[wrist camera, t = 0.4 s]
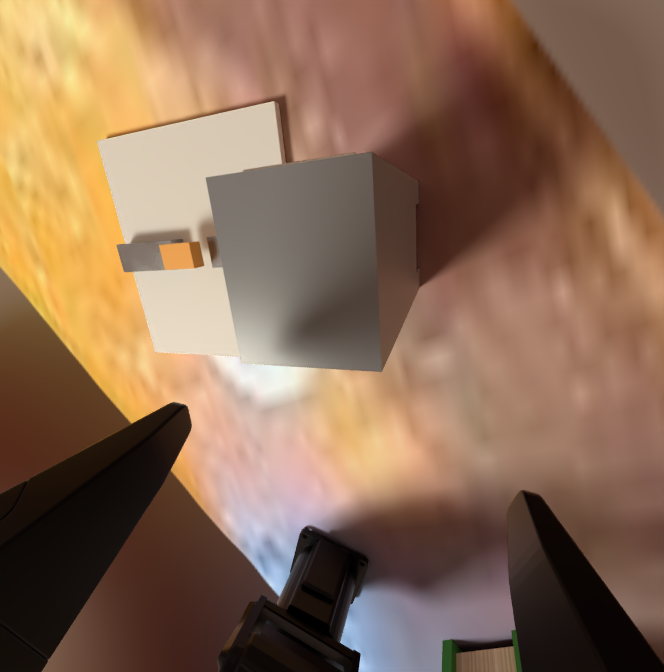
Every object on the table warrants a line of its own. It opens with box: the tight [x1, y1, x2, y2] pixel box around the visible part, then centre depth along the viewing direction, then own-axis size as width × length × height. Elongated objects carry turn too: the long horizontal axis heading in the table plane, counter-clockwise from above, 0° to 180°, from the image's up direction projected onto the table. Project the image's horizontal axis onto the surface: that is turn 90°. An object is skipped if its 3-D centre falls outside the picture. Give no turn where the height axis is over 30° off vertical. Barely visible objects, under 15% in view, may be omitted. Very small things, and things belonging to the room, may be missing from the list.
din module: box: [205, 152, 419, 372], centre depth 16 cm, size 6×5×12 cm
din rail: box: [117, 236, 222, 272], centre depth 24 cm, size 2×13×1 cm, turn 96°
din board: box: [97, 101, 286, 357], centre depth 25 cm, size 16×14×1 cm
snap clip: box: [159, 241, 204, 270], centre depth 23 cm, size 2×2×1 cm
